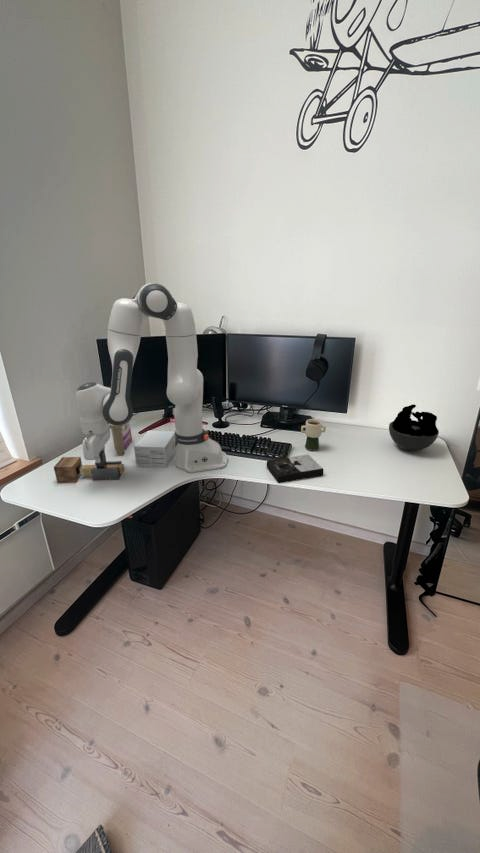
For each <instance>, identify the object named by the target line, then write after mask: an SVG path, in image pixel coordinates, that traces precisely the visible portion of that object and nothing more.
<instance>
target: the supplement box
mask: <svg viewBox="0 0 480 853" xmlns="http://www.w3.org/2000/svg"><path fill="white" fill-rule="evenodd" d="M133 450H134V457H135V466H136V467H154V468H155V467H156V468H167V466H168V465H169V464H170V462H171V460H172V458H173V456H174V455H175V454H176V443H175V431H172V430H171V431H170V430H169V431H168V430H167V431H165V430H147V431H146V432H145V433H144V435H142V437H141V438H140V439H139V440H138V442H137V443H136V444H135V445H134V446H133Z"/></svg>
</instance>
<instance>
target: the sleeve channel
mask: <svg viewBox="0 0 480 853" xmlns="http://www.w3.org/2000/svg"><path fill="white" fill-rule="evenodd" d="M106 462H107V464H123V463H122V460H119V461H118V460H117V461H115V460H113V461H109V460H108V461H106ZM94 465H96V462H94ZM91 473H92V478H91V479H92V481H93V482H95V481H96V482H97V481H100V482H101V481H119V480H120V479H121V477H122V475H119V469H118V467H105V468H91Z"/></svg>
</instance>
